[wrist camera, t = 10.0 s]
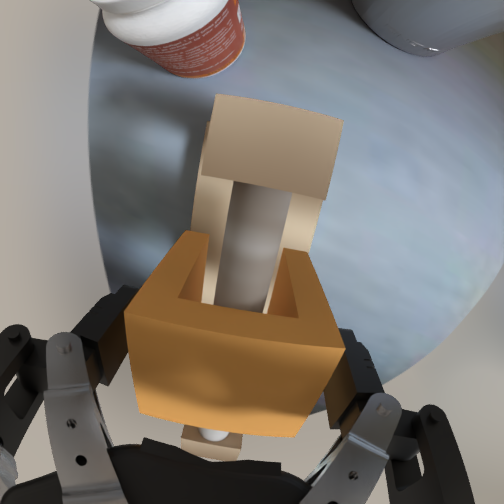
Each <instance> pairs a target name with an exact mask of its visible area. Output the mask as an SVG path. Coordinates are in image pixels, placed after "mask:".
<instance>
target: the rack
mask: <svg viewBox="0 0 504 504" xmlns="http://www.w3.org/2000/svg"><path fill="white" fill-rule="evenodd" d="M343 122H344V120H341V119H338V118H334V117H331V116H327V115H324V114H320V113H316V112H312V111H309V110H305V109H300V108H296V107H292V106H287V105H283V104H278V103H273V102H268V101H262V100H257V99H251V98H245V97H238V96H231V95H223V94H216V96H215V101H214V106H213V111H212V116H211V121H207V125H206V130H205V135H204V141H203V147H202V152H201V158H200V164H199V170H198V177H197V183H196V190H195V197H194V204H193V212H192V219H191V227H190V231H194V232H199V233H205V234H210V235H209V243H208V251H207V258H206V267H205V275H204V284H203V293H202V302H201V303H206V304H211V305H217V306H222V307H228V308H234V309H239V310H246V311H252V312H258V313H264V314H267V311H268V307H269V303H270V300H271V296H272V292H273V288H274V284H275V280H276V276H277V272H278V268H279V264H280V259H281V255H282V251H283V248H289V249H294V250H300V251H305V252H307V253H308V254H309V250H310V247H311V243H312V239H313V236H314V232H315V228H316V225H317V221H318V217H319V213H320V210H321V206H322V202H323V200H326V196H327V192H328V188H329V184H330V180H331V176H332V172H333V168H334V163H335V159H336V155H337V150H338V146H339V141H340V136H341V132H342V127H343ZM242 435H243V434H240V433H232V432H225V431H218V430H212V429H206V428H200V427H195V426H190V425H184V428H183V433H182V436H181V449H183V450H185V451H187V452H189V453H191V454H193V455H195V456H200V457H205V458H211V459H216V460H221V461H236V460H237V458H238V455H239V453H240V451H241V445H242Z"/></svg>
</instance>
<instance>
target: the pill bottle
mask: <svg viewBox="0 0 504 504" xmlns="http://www.w3.org/2000/svg"><path fill="white" fill-rule="evenodd" d="M90 1H91V2H93V3H94V4H96V5H97V6H98V7H99V8H101V9H102V14H103V20H104V23H105V25H106V27H107V28H108V30H109V31H110V32H111V33H112V34H113V35H114V36H115V37H117V38H118V39H120V40H121V41H123V42H124V43H126V44H128V45H129V46H131V47H133V48H134V49H136V50H137V51H139V52H141V53H142V54H144V55H145V56H147V57H148V58H150V59H151V60H153V61H154V62H156V63H157V64H159V65H160V66H162V67H163V68H165V69H166V70H167V71H169V72H171V73H173V74H175V75H177V76H180V77H184V78H190V79H198V78H205V77H210V76H213V75H215V74H218V73H220V72H222V71H223V70H225V69H227V68H228V67H229V66H230V65H232V64H233V63H234V62H235V61H236V59H237V58H238V57H239V55H240V54H241V52H242V50H243V47H244V44H245V36H246V35H245V27H244V23H243V19H242V15H241V11H240V7H239V2H238V0H90Z"/></svg>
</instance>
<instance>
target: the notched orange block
mask: <svg viewBox="0 0 504 504" xmlns="http://www.w3.org/2000/svg"><path fill="white" fill-rule="evenodd" d="M209 235H210V234H205V233H199V232H194V231H188V230H185V232H184V233H183V234H182V235H181V236H180V238H179V239H178V240H177V241H176V243H175V244H174V245H173V247H172V248H171V249H170V250H169V252H168V253H167V254H166V255H165V257H164V258H163V259H162V261H161V262H160V263H159V264H158V266H157V267H156V268H155V270H154V271H153V272H152V274H151V275H150V276H149V278H148V279H147V280H146V282H145V283H144V284H143V286H142V287H141V288H140V290H139V291H138V293H137V294H136V295H135V297H134V298H133V299H132V301H131V302H130V304H129V305H128V306H127V308H126V309H125V311H124V319H125V328H126V337H127V345H128V352H129V359H130V365H131V371H132V377H133V382H134V387H135V392H136V398H137V402H138V407H139V411H140V413H142V414H145V415H149V416H152V417H156V418H160V419H164V420H168V421H172V422H176V423H181V424H185V425H190V426H195V427H200V428H206V429H212V430H218V431H225V432H232V433H240V434H249V435H260V436H274V437H295V436H296V434H297V433H298V431H299V429H300V428H301V426H302V425H303V423H304V422H305V420H306V419H307V417H308V415H309V414H310V412H311V411H312V409H313V407H314V406H315V404H316V402H317V401H318V399H319V397H320V395H321V394H322V392H323V390H324V389H325V387H326V385H327V383H328V381H329V380H330V378H331V376H332V374H333V372H334V370H335V368H336V367H337V365H338V363H339V361H340V359H341V357H342V355H343V353H344V351H345V349H346V348H345V345H344V343H343V340H342V337H341V335H340V332H339V329H338V327H337V324H336V322H335V319H334V316H333V314H332V311H331V309H330V306H329V304H328V301H327V299H326V296H325V294H324V291H323V289H322V286H321V284H320V281H319V279H318V277H317V274H316V272H315V269H314V267H313V265H312V262H311V260H310V258H309V255H308V253H307V252H305V251H300V250H294V249H289V248H283V251H282V255H281V259H280V264H279V268H278V272H277V276H276V280H275V284H274V288H273V292H272V296H271V300H270V303H269V307H268V311H267V314H264V313H258V312H252V311H246V310H239V309H234V308H228V307H222V306H217V305H211V304H206V303H201V302H202V293H203V284H204V275H205V267H206V258H207V251H208V243H209Z"/></svg>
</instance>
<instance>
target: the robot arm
mask: <svg viewBox="0 0 504 504" xmlns="http://www.w3.org/2000/svg"><path fill="white" fill-rule="evenodd" d="M351 1H352V3H353V5H354V8H355V9H356V11H357V12H358V14H359V15H360V17H361V18H362V19H363V20H364V22H365V23H366V24H367V25H368V26H369V27H370V28H371V29H372V30H373V31H374V32H375V33H376V34H378V35H379V36H380V37H381V38H383V39H384V40H386V41H387V42H388V43H390V44H391V45H393V46H395V47H397V48H399V49H400V50H402V51H405V52H408V53H410V54H413V55H418V56H422V57H432V56H435V55H438V54H441V53H443V52H446V51H448V50H451V49H453V48H456V47H458V46H461V45H464V44H467V43H470V42H473V41H476V40H478V39H481V38H484V37H487V36H491V35H494V34H497V33H500V32H504V0H351ZM139 290H140V289H139V288H135V287H131V286H127V285H123V286H122V287H121V288H120V289H119V290H118V292H117V293H116V294H112V293H110V294H109V295H106V296H104V297H102V298H101V299H100V300H99V301H98V302H97V303H96V304H95V306H94V307H92V309H91V310H90V311H89V312H88V313H87V314H86V315H85V316H84V317H83V318H82V320H81V321H80V322H79V323H78V324H77V325H76V326H75V328H74V329H73V330H72V331H71V332H70V333H69V332H61V333H57V334H55V335H53V336H52V337H51V338H50V339H49V340H41V339H35V338H31V335H30V332H29V330H28V328H27V327H25V326H23V325H19V324H16V325H11V326H9V327H7V328H5V330H3V331H2V332H1V333H0V504H365V503H366V501H367V499H368V498H369V496H370V494H371V492H372V491H373V489H374V487H375V485H376V483H377V481H378V480H379V478H380V476H381V474H382V472H383V469H384V468H385V474H386V480H387V487H388V494H389V501H390V504H475V502H474V498H473V494H472V490H471V487H470V482H469V479H468V476H467V472H466V469H465V466H464V463H463V460H462V457H461V454H460V451H459V448H458V445H457V442H456V440H455V437H454V435H453V432H452V429H451V426H450V424H449V421H448V419H447V417H446V414H445V413H444V412H443V410H442V409H440V408H439V407H437V406H435V405H430V404H429V405H425V406H424V407H423V408H422V409H421V410H420V411H419V412H413V411H409V410H404V409H402V408H401V405H400V403H399V402H398V401H397V400H396V399H395V398H394V397H393V396H391V395H389V394H386V393H385V392H384V390H383V387H382V384H381V382H380V379H379V376H378V374H377V371H376V369H374V367H375V366H374V364H373V361H372V359H371V356H370V354H369V351H368V350H367V349H366V348H365V347H364V345H363V344H362V343H361V342H357V340H356V338H355V335H354V333H353V331H352V330H350V329H342V328H338V329H339V332H340V335H341V337H342V340H343V343H344V345H345V348H346V349H345V351H344V353H343V355H342V357H341V359H340V361H339V363H338V365H337V367H336V368H335V370H334V372H333V374H332V376H331V378H330V380H329V381H328V383H327V385H326V387H325V389H324V390H323V391H324V396H325V402H326V408H327V413H328V420H329V426H330V429H340V430H341V435H340V436H339V437H338V438H337V440H336V441H335V443H334V444H333V445H332V447H331V448H330V449H329V451H328V452H327V454H326V455H325V456H324V458H323V459H322V460H321V461H320V463H319V464H318V465H317V467H316V468H315V469H314V470H313V471H312V472H311V473H310V474H309V476H307V478H306V479H305V480H304V481H303V480H302V479H300V478H299V477H296V476H294V475H292V474H290V473H287V472H284V471H281V463H279V462H265V461H254V460H240V461H223V462H211V461H207V460H204V459H202V458H200V457H198V456H195V455H193V454H191V453H189V452H187V451H185V450H183V449H180V448H178V447H176V446H172V445H168V444H165V443H161V442H158V441H154V440H151V439H148V438H143V441H142V444H141V445H139V444H126V445H119V446H114V445H113V442H112V440H111V437H110V435H109V433H108V430H107V427H106V424H105V420H104V417H103V414H102V411H101V407H100V404H99V400H98V396H97V393H96V387H97V385H98V384H99V383H101V384H104V385H106V386H109V384H110V383H111V381H112V379H113V377H114V375H115V374H116V372H117V370H118V369H119V367H120V365H121V363H122V362H123V360H124V358H125V356H126V355H127V353H128V345H127V337H126V328H125V319H124V311H125V309H126V308H127V306H128V305H129V304H130V302H131V301H132V299H133V298H134V297H135V295H136V294H137V293H138V291H139ZM15 374H16V376H17V379H16V380H15V381H14V383H13V384H12V386H11V387H10V389H9V391H8V392H7V393H6V395H5V396H4V392H5V389H6V387H7V386H8V384H9V383H10V381H11V380H12V378H13V377H14V376H15ZM43 400H44V405H45V414H46V421H47V428H48V434H49V439H50V444H51V449H52V454H53V458H54V462H55V466H56V470H57V471H55V472H52V473H50V474H47V475H44V476H42V477H39V478H36V479H33V480H30V481H27V482H24V483H20V484H17V485H16V484H15V480H16V479H17V478H18V472H17V470H16V469H17V468H16V462H15V460H14V456H15V454H16V451H17V449H18V447H19V445H20V443H21V441H22V439H23V437H24V435H25V433H26V431H27V429H28V427H29V425H30V424H31V422H32V420H33V418H34V416H35V414H36V413H37V411H38V409H39V407H40V405H41V404H42V402H43ZM419 452H420V453H421V457H422V461H423V465H424V474H423V476H421V472H420V467H419V463H418V459H417V454H418V453H419Z"/></svg>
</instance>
